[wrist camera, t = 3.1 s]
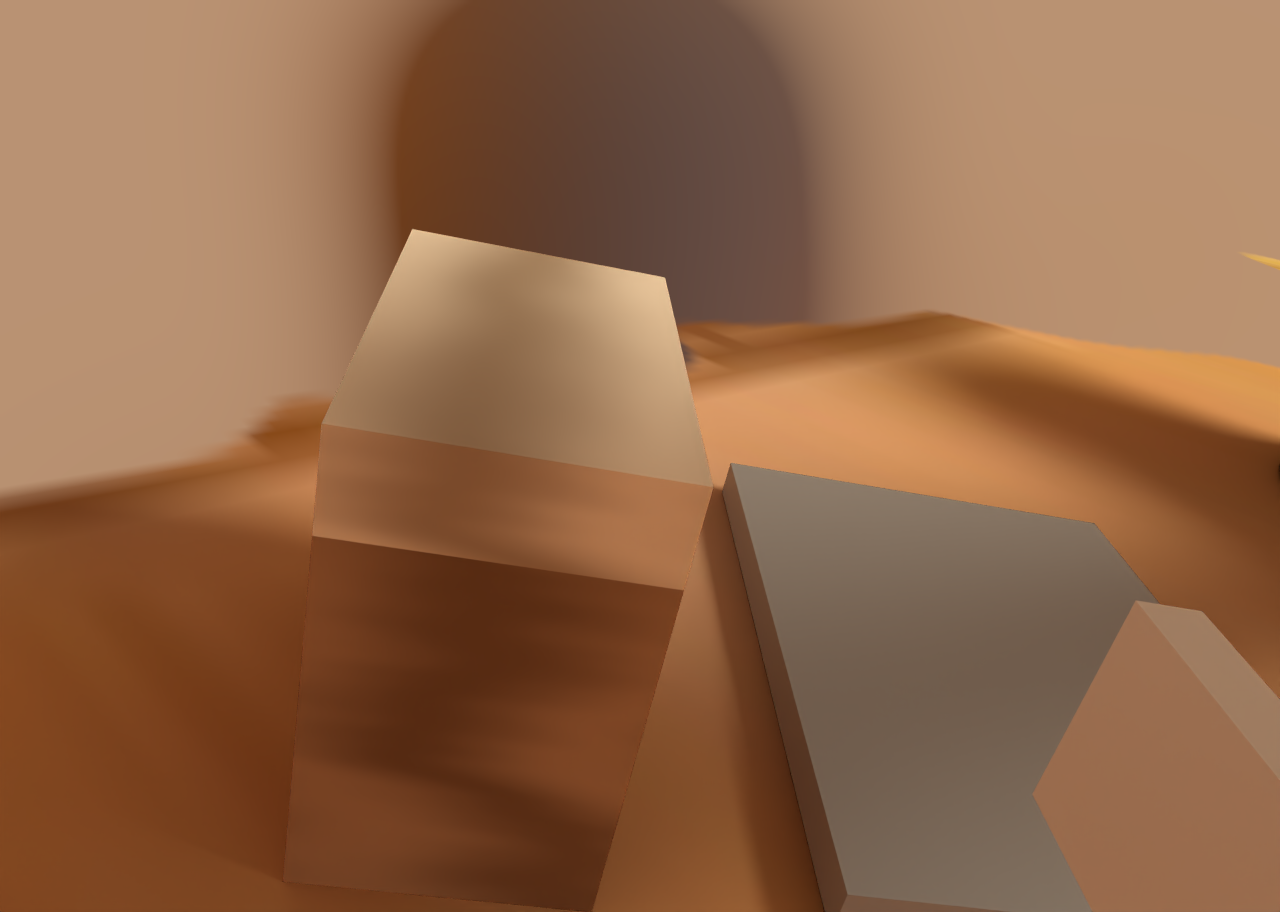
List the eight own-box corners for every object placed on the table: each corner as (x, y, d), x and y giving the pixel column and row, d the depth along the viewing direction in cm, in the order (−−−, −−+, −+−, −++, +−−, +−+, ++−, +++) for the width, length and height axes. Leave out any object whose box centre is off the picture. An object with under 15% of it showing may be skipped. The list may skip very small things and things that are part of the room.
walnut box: (585, 610, 30) (665, 277, 25) (591, 913, 21) (713, 486, 16) (371, 579, 29) (412, 229, 24) (282, 883, 20) (321, 422, 16)
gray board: (1081, 549, 40) (1094, 523, 39) (1418, 992, 24) (1447, 957, 23) (722, 491, 38) (730, 463, 37) (830, 933, 22) (847, 894, 21)
